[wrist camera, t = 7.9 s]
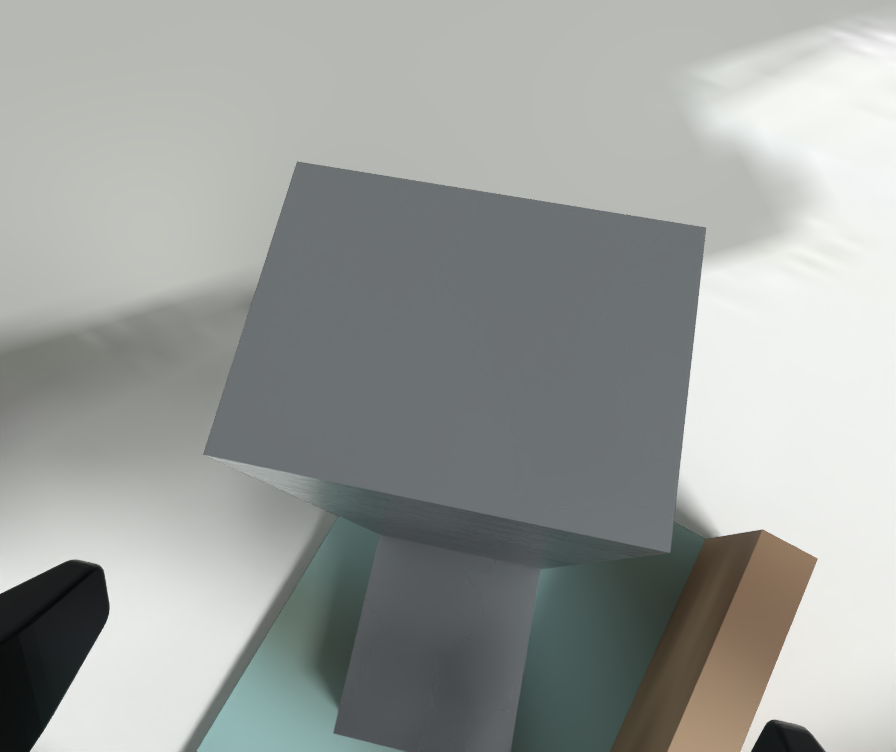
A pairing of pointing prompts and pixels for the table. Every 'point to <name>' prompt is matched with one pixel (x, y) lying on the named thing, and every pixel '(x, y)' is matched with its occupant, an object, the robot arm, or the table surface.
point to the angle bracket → (463, 419)
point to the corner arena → (555, 650)
